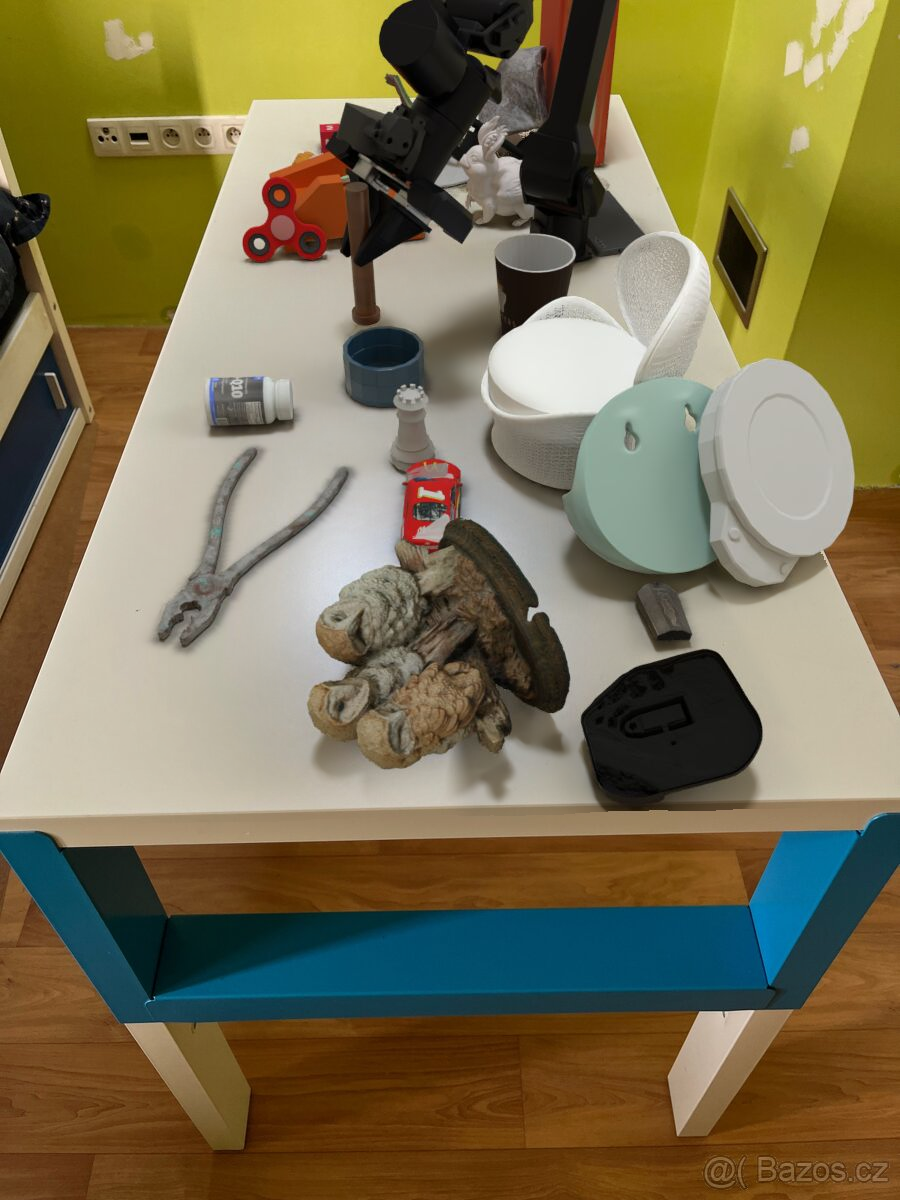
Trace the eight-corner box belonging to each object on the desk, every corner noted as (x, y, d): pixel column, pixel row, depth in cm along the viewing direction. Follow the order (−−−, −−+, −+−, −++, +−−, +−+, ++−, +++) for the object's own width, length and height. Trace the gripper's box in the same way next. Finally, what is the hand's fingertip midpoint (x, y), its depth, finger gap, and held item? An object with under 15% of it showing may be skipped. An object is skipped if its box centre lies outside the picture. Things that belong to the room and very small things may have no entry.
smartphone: (557, 202, 135) (598, 256, 125) (558, 196, 134) (598, 250, 125) (608, 195, 136) (652, 248, 127) (608, 189, 136) (653, 242, 126)
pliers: (250, 450, 98) (114, 626, 82) (249, 444, 98) (111, 620, 81) (351, 472, 96) (232, 658, 79) (350, 465, 95) (230, 651, 79)
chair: (480, 380, 106) (484, 196, 91) (666, 383, 105) (700, 198, 91) (478, 502, 92) (482, 308, 78) (692, 506, 92) (736, 311, 77)
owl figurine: (596, 667, 65) (367, 787, 60) (570, 742, 75) (371, 851, 70) (457, 481, 73) (244, 572, 68) (449, 571, 83) (263, 656, 78)
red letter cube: (321, 144, 150) (319, 124, 148) (341, 143, 150) (339, 123, 148) (321, 152, 148) (319, 132, 146) (341, 151, 148) (340, 131, 146)
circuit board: (462, 139, 147) (460, 148, 148) (512, 158, 146) (510, 167, 147) (481, 116, 151) (479, 124, 152) (529, 134, 151) (527, 142, 152)
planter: (729, 541, 94) (683, 374, 92) (783, 536, 87) (735, 355, 85) (565, 604, 87) (512, 423, 85) (611, 603, 80) (554, 407, 78)
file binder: (548, 167, 143) (566, -98, 120) (533, 121, 155) (547, -128, 132) (603, 166, 144) (631, -99, 121) (585, 120, 156) (607, -129, 132)
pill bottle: (205, 368, 99) (290, 366, 100) (213, 407, 103) (294, 404, 103) (201, 396, 96) (288, 393, 97) (209, 435, 100) (293, 432, 100)
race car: (408, 474, 95) (406, 440, 93) (464, 475, 95) (464, 442, 92) (394, 569, 86) (392, 535, 83) (457, 571, 86) (457, 537, 83)
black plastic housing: (777, 762, 66) (776, 788, 70) (729, 639, 72) (730, 670, 76) (604, 809, 68) (612, 831, 72) (569, 684, 73) (579, 712, 77)
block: (653, 648, 80) (656, 633, 78) (630, 596, 84) (633, 580, 82) (696, 642, 80) (700, 627, 79) (671, 590, 84) (675, 575, 83)
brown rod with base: (373, 308, 105) (364, 177, 95) (385, 321, 103) (377, 189, 93) (347, 315, 104) (335, 183, 94) (359, 329, 102) (348, 196, 92)
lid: (664, 533, 79) (692, 526, 76) (718, 330, 85) (746, 318, 83) (800, 623, 87) (830, 620, 84) (840, 431, 93) (869, 422, 90)
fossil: (454, 138, 148) (510, 171, 151) (479, 136, 135) (539, 172, 139) (501, 35, 144) (557, 73, 148) (531, 23, 131) (592, 64, 135)
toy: (245, 261, 125) (244, 263, 124) (234, 177, 119) (233, 179, 119) (328, 258, 125) (327, 260, 124) (320, 174, 120) (320, 175, 119)
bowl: (404, 355, 110) (403, 318, 106) (438, 394, 105) (437, 357, 101) (334, 374, 107) (330, 338, 104) (365, 415, 102) (362, 378, 99)
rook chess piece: (442, 451, 98) (441, 383, 92) (426, 479, 95) (424, 409, 89) (400, 442, 99) (396, 374, 93) (383, 469, 96) (378, 400, 90)
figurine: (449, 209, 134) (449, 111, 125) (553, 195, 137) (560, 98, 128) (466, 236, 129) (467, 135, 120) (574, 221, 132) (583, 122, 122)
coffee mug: (563, 360, 109) (570, 276, 102) (486, 352, 110) (488, 268, 103) (575, 306, 117) (583, 225, 110) (503, 299, 118) (506, 218, 111)
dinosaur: (342, 168, 143) (335, 88, 136) (415, 128, 154) (413, 51, 146) (443, 199, 136) (442, 116, 128) (513, 154, 147) (516, 76, 139)
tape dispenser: (404, 196, 137) (401, 134, 131) (423, 238, 128) (422, 173, 122) (274, 210, 134) (265, 147, 128) (285, 253, 126) (276, 188, 120)
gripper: (332, 38, 93) (246, 184, 97) (446, 98, 83) (344, 260, 87) (405, 107, 102) (323, 238, 106) (516, 169, 92) (421, 313, 95)
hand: (350, 259), depth 98 cm, fingers closed on brown rod with base, 2 cm apart
